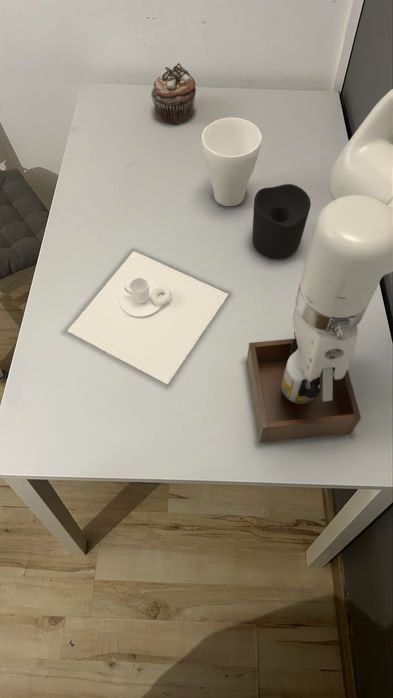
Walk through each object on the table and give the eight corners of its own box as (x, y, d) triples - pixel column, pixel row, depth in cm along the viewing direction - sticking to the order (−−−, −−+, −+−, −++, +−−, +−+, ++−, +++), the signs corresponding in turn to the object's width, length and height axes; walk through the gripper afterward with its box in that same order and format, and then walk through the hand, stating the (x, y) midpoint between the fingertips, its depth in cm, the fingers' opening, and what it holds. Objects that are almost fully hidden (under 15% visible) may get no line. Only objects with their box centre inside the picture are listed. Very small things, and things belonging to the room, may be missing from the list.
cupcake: (177, 94, 115) (175, 50, 106) (204, 114, 111) (204, 70, 102) (144, 111, 112) (139, 67, 103) (171, 132, 108) (167, 89, 100)
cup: (264, 205, 97) (272, 147, 85) (215, 221, 95) (215, 163, 84) (242, 171, 102) (246, 111, 90) (194, 185, 100) (192, 126, 88)
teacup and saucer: (177, 293, 87) (176, 279, 84) (152, 327, 84) (150, 313, 80) (136, 274, 89) (132, 259, 86) (110, 306, 86) (106, 292, 83)
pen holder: (288, 269, 89) (296, 230, 80) (241, 250, 92) (244, 210, 83) (309, 234, 93) (319, 193, 84) (263, 217, 96) (268, 175, 87)
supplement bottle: (323, 382, 75) (337, 350, 66) (307, 411, 72) (320, 381, 64) (291, 365, 76) (300, 332, 68) (274, 393, 74) (282, 362, 66)
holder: (330, 354, 80) (338, 334, 75) (350, 434, 74) (361, 418, 68) (246, 361, 80) (249, 342, 75) (259, 442, 74) (263, 428, 68)
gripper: (387, 364, 50) (345, 428, 66) (347, 236, 59) (318, 320, 75) (314, 371, 50) (289, 433, 66) (284, 242, 59) (268, 324, 74)
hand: (305, 372), depth 70 cm, fingers closed on supplement bottle, 5 cm apart
